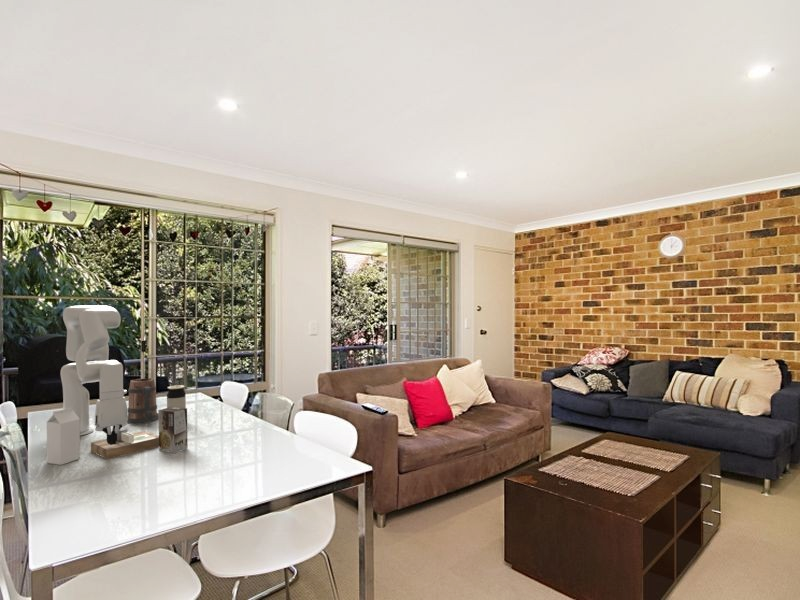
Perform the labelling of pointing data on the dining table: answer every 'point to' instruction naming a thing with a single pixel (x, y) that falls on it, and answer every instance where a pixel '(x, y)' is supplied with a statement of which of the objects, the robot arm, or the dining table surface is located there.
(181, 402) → the travel mug
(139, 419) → the tankard
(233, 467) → the dining table surface
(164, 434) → the coffee box
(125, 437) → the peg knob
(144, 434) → the board
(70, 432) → the milk carton
